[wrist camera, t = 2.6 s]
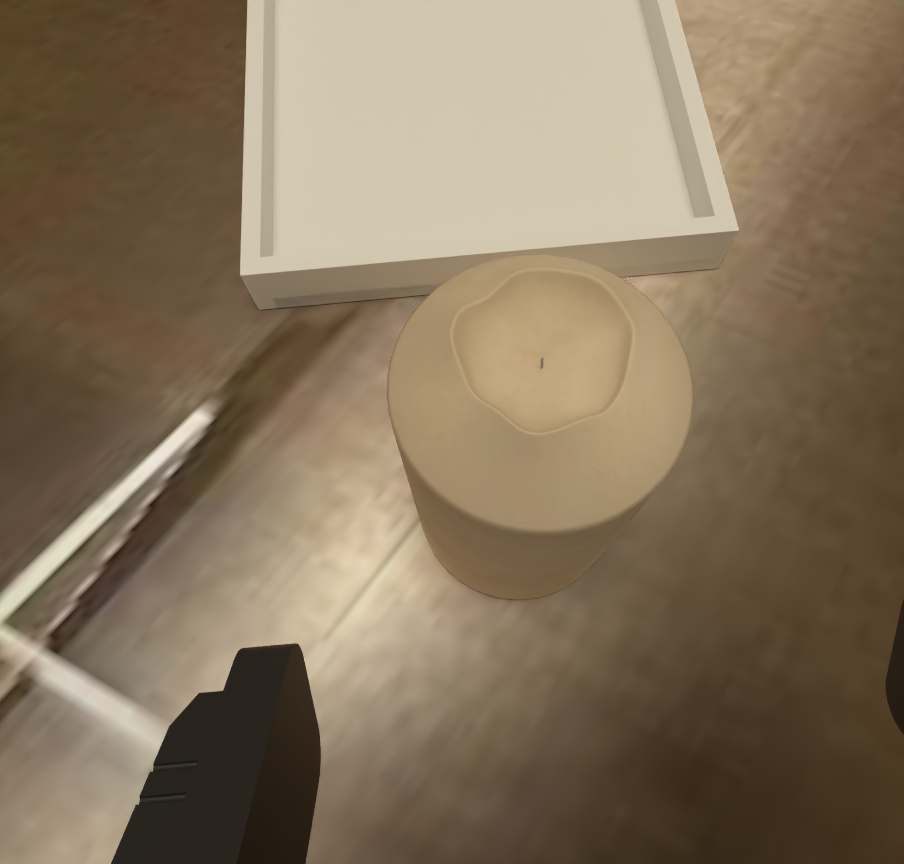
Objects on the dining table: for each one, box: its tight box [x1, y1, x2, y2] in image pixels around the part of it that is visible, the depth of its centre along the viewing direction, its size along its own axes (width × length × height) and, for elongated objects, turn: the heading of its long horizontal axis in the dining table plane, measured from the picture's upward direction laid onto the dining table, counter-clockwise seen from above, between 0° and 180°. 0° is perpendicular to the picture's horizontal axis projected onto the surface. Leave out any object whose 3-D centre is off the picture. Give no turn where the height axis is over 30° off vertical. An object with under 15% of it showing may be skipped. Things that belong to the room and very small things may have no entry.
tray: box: [240, 0, 739, 310], centre depth 26 cm, size 15×19×2 cm
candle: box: [387, 255, 693, 600], centre depth 16 cm, size 6×6×10 cm
